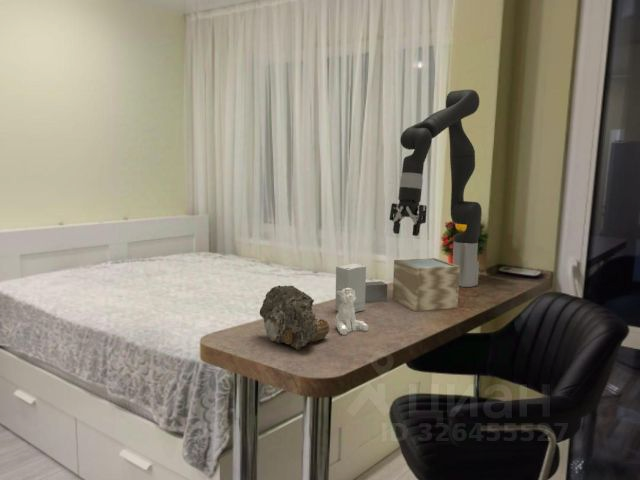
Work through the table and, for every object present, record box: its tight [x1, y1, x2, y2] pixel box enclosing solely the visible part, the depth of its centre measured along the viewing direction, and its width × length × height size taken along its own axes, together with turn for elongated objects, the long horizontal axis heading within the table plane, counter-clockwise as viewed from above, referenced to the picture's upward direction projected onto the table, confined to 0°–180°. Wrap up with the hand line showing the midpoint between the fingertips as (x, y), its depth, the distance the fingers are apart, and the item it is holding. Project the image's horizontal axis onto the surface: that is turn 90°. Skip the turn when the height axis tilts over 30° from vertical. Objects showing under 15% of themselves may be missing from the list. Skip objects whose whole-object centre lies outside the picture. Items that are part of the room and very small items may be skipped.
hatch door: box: [401, 258, 451, 268], centre depth 177 cm, size 13×13×1 cm
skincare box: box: [334, 262, 367, 313], centre depth 167 cm, size 8×6×15 cm
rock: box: [259, 285, 330, 351], centre depth 137 cm, size 18×14×15 cm
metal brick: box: [365, 280, 388, 304], centre depth 182 cm, size 8×5×6 cm, turn 108°
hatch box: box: [392, 257, 460, 312], centre depth 178 cm, size 16×16×14 cm
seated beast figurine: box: [334, 288, 369, 336], centre depth 148 cm, size 10×9×12 cm
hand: (405, 234), depth 179 cm, fingers open, 8 cm apart
